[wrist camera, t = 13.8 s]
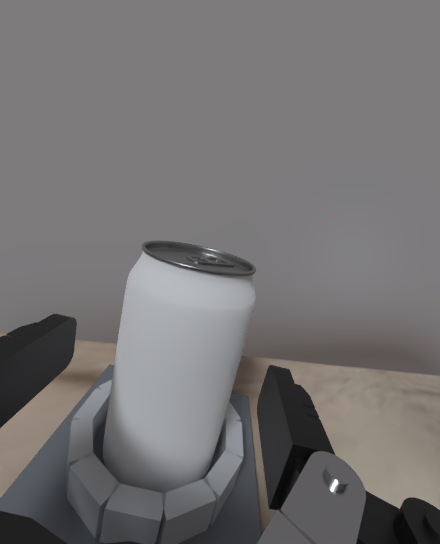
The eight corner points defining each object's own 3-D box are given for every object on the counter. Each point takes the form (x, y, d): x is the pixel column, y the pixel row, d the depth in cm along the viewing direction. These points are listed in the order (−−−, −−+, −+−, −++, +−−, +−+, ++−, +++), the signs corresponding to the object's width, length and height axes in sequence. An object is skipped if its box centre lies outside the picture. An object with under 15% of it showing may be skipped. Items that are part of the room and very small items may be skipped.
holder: (246, 402, 21) (254, 377, 20) (322, 1344, 3) (391, 1357, 3) (108, 370, 21) (112, 344, 20) (-528, 1176, 3) (-630, 1151, 3)
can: (88, 425, 15) (112, 232, 12) (179, 393, 19) (212, 244, 17) (124, 541, 11) (175, 275, 8) (233, 466, 15) (291, 276, 12)
